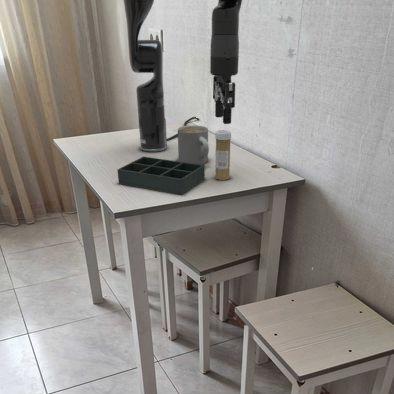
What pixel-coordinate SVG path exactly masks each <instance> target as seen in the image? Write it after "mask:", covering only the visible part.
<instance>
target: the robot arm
mask: <svg viewBox="0 0 394 394" xmlns="http://www.w3.org/2000/svg"><path fill="white" fill-rule="evenodd" d="M154 2H155V0H123V5H124V13H125V19H126V20H125V21H126V30H127V46H128V47H127V48H128V57H129V64H130V68H131V70H132V72H133V73H137V74H153V76H152V77H151V78H150V79H149V80H148V81H146V82H144V83H141V84H139V85H138V86H137V87H136V91H135V92H136V103H137V104H136V105H137V106H136V107H137V116H138V118H137V119H138V130H139V143H140V145H139V147H140V150H141V151H143V152H149V153H155V152H156V153H157V152H162V151H165V150H166V149H167V147H168V141H170V140H173V139H175V138H178V133H176V134H174V135H172V136H171V137H168V136H167V119H166V115H165V114H166V112H165V90H164V51H163V46H162V42H161V41H160V40H158V39H139V36H140V33H141V29H142V28H143V27H142V26H143V25H144V22H145V20H146V19H147V17H148V16H149V14H150V12H151V11H152V7H153V6H154ZM242 4H243V0H218V2H217V5H216V6H214V8H213V9H212V12H211V38H210V51H209V52H210V53H209V54H210V63H209V64H210V65H209V69H210V71H209V73H210V75H212V78H213V79H212V80H213V81H212V99H213V101H214V103H215V107H214V116H215V118H222V124H224V125H230V124H231V123H232V111H233V110H232V109H234V108H235V107H236V82H232V77H233V76H237V75H238V74H239V57H240V56H239V55H240V39H239V38H240V37H239V32H240V31H239V30H240V11H241V7H242ZM196 117H197V116H192V117H190V118H188V119H187V120H185V121H184V124H183V126H187V123H189V122H190V121H193V120H197V121H200V118H199V117H198V118H196ZM167 137H168V138H167Z"/></svg>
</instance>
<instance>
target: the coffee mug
mask: <svg viewBox="0 0 394 394" xmlns="http://www.w3.org/2000/svg"><path fill="white" fill-rule="evenodd" d="M177 134H178V136H177V151H178V152H177V154H178V155H177V156H178V162H185V163H192V164H199V165H205V164H206V163H208V161H209V151H210V146H209V128H208V127H207V126H204V125H199V124H198V125H195V124H192V125H186V126H184V125H183V126H179V127H178V128H177Z"/></svg>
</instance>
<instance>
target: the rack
mask: <svg viewBox="0 0 394 394" xmlns="http://www.w3.org/2000/svg"><path fill="white" fill-rule="evenodd" d="M205 167H206V166H205V164H200V165H199V164H192V163H185V162H179V160H170V159H164V158H158V157H157V158H156V157H151V156H150V157H149V156H141V157H139V158H137V159H135V160H133V161H131V162H130V163H127V164H126V165H124V166H121V167H119V168H118V169H117V171H116V172H117V179H118V180H117V181H118V185H123V186H128V187H134V188H140V189H145V190H152V191H157V192H163V193H170V194H173V195H180V196H182V195H184V194H186V193H188V192H189V191H190V190H192V189H193V188H195V187H196V186H198V185H199V184H200V183H202V182H204V181H205V180H206V177H205V176H206V175H205V174H206V173H205V171H206V168H205Z"/></svg>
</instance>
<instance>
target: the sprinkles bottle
mask: <svg viewBox="0 0 394 394" xmlns="http://www.w3.org/2000/svg"><path fill="white" fill-rule="evenodd" d="M231 139H232V132H231V130H228V129H219V130H216V131H215V166H214V167H215V176H214V177H215V179H216V180H219V181H226V180H229V179H230V177H231V176H230V172H231V171H230V170H231V169H230V167H231Z"/></svg>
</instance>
